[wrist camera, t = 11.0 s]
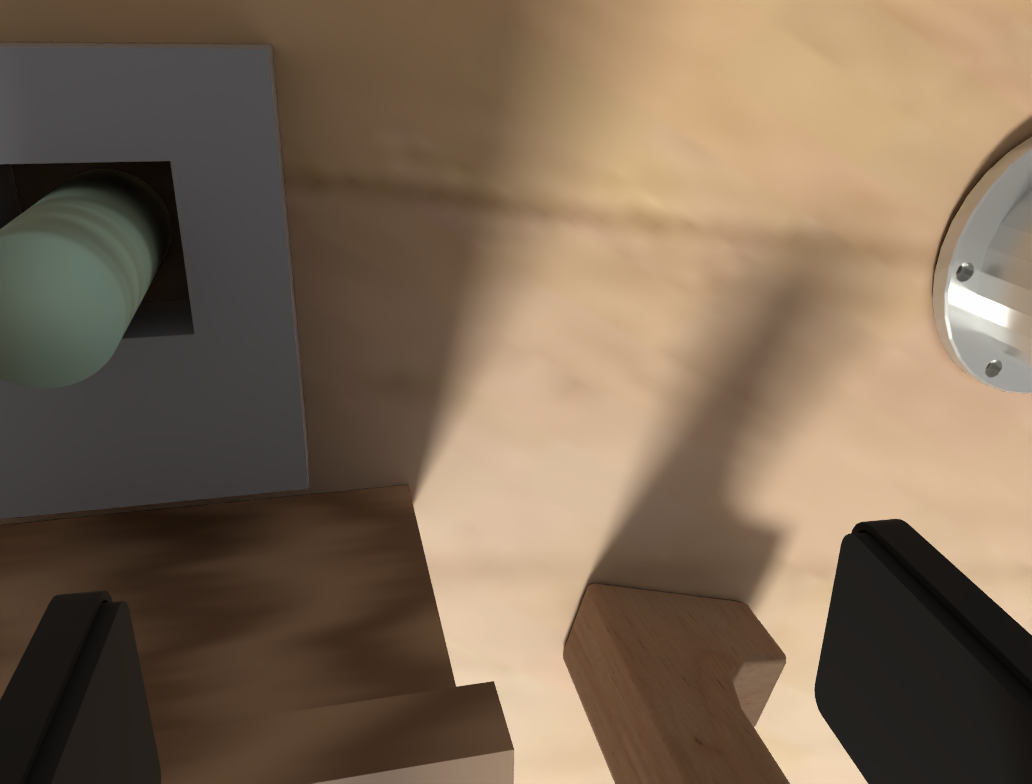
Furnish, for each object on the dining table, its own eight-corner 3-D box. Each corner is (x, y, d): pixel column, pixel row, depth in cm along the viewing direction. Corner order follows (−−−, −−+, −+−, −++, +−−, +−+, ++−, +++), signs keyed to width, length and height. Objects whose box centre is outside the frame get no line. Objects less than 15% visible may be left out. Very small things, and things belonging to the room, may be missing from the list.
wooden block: (746, 599, 44) (1003, 933, 28) (715, 669, 46) (941, 1025, 30) (586, 578, 42) (770, 936, 25) (558, 655, 43) (715, 1039, 27)
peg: (163, 167, 30) (108, 231, 21) (179, 279, 32) (134, 382, 23) (37, 169, 29) (-75, 238, 20) (60, 284, 31) (-35, 394, 22)
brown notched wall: (403, 376, 35) (514, 749, 17) (409, 514, 38) (510, 962, 20) (-95, 413, 32) (-607, 938, 14) (-51, 564, 34) (-432, 1171, 16)
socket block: (271, 44, 30) (268, 48, 26) (307, 440, 35) (308, 488, 32) (-130, 41, 27) (-194, 45, 23) (-18, 469, 33) (-56, 524, 29)
